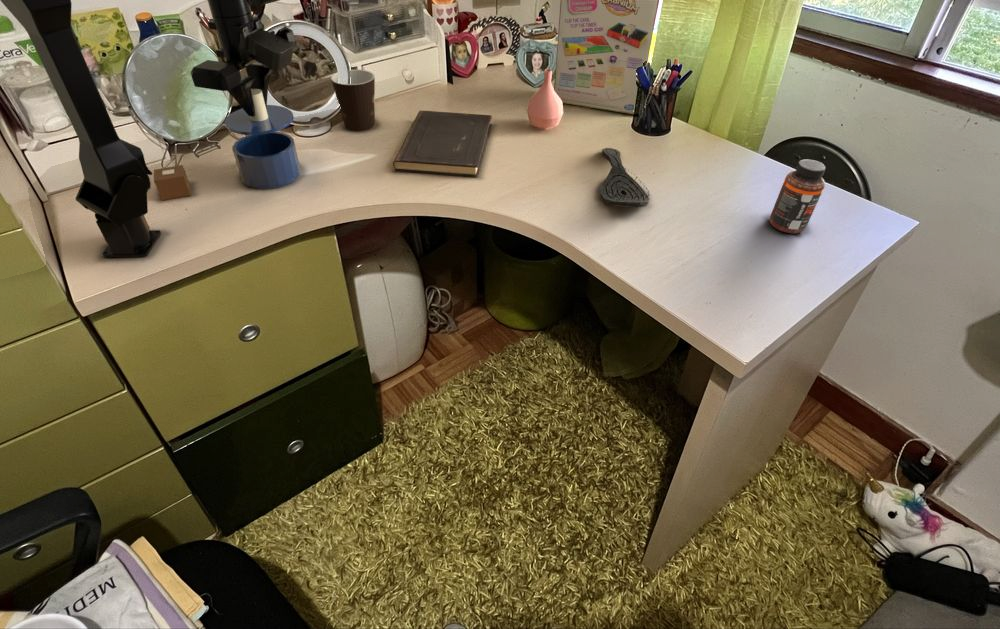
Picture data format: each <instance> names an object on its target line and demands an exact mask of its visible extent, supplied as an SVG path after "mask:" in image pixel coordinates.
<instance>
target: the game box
mask: <svg viewBox="0 0 1000 629" xmlns="http://www.w3.org/2000/svg"><path fill="white" fill-rule="evenodd" d="M559 5H560V6H559V18H558V32H557V44H556V59H555V70H554V82H553V83H554V84H553V88H554V91H555V93H556V94H557V95H558V96H559V98H560V99H561V100H562V104H568V105H573V106H578V107H585V108H589V109H590V108H591V109H596V110H603V111H609V112H616V113H623V114H629V115H634V112H633V110H634V105H635V100H636V94H637V85H636V70H637V68H638V67H640V66H642V64H643V63H644V62H645V61H648V62H649V63H650V65H651V66H652V60H653V54H654V49H655V44H656V39H657V33H658V29H659V28H658V27H659V24H660V17H661V11H662V6H663V0H560V4H559Z"/></svg>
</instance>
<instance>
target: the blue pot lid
mask: <svg viewBox="0 0 1000 629" xmlns="http://www.w3.org/2000/svg"><path fill="white" fill-rule="evenodd" d="M251 93H252V98H253V103H254V108H255V116H254V117H252V116H249V115H248V114H247V113H246V112H245V111H244V110H243V108H240V109H237V110H235V111H233V112H231V113H229V114H228V115H227V116H226V117H225V119H224V125H225V128H226V129H227V130H228V131H229V132H232V133H234V134H238V135H243V136H247V135H261V134H268V133H272V132H279V131H281V130H283V129H286V128H287V127H289V126H290V125H291V124H292V123H293V121H294V118H295V116H294V113H293V112H292V110H291V109H289V108H288V107H286V106H285V107H284V106H280V105H275V104H267V107H266V105H265V101H264V97H263V93H262V90H260V89H251Z"/></svg>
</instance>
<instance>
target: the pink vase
mask: <svg viewBox="0 0 1000 629" xmlns="http://www.w3.org/2000/svg"><path fill="white" fill-rule="evenodd" d="M552 75H553V69H551V68H545V69H544V72H543V82H542V84H541V85H540V87H539V89H538V91H536V92H535V93H534V94H533V95H532V96H531V97H530V99H529V100H528V102H527V109H526V113H527V118H528V122H529V124H531V126H534V127H536V128H538V129H539V130H549V129H551V128H555V127H557V126H559V124H560V122H561V119H562V117H563V114H564V106H563V104H564V103H562V100H561V99H560V98H559V96H558V95H557V94H556V93H555V91H554V85H553V84H552V78H553V77H552Z"/></svg>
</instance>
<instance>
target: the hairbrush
mask: <svg viewBox="0 0 1000 629" xmlns="http://www.w3.org/2000/svg"><path fill="white" fill-rule="evenodd" d="M601 154H602V156H603V158H605V159H606V160H607V161H608V163H609V164H610V167H611V168H610V170H609V172H608V174H607V175H606V177H605V179H604V180H603V182H602V183H601V185H600V191H599V198H600V200H601V201H602V202H603V204H607V205H610V206H614V207H625V208H628V207H629V208H642V207H648V205H649V203H650V198H649V197H650V192H649V189H648V188H647V187H646V185H645V184H644V182H643V183H642V180H639V182H638V181H636V180H637V179H638V176H636V173H634V174H633V176H631V175H632V173H633V172H631V174H628V173H629V171H630V169H628V172H627V168H625V167H624V165H623V163H622V158H621V151H620V150H618V149H615V148H612V147H605V148H603V149H601ZM634 176H636V177H635V178H634ZM641 183H642V185H643V187H642V186H641ZM644 188H645V189H644ZM645 190H646V191H645ZM646 192H647V193H646Z"/></svg>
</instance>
